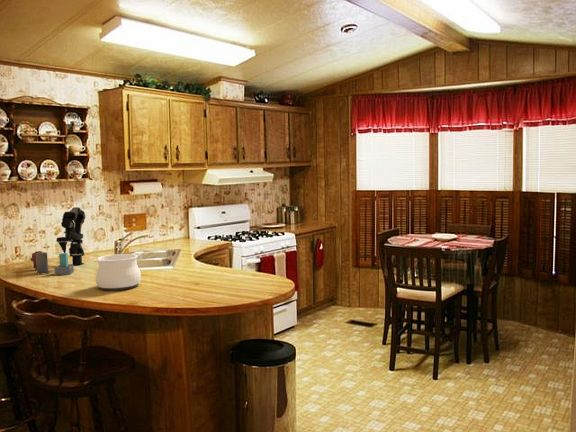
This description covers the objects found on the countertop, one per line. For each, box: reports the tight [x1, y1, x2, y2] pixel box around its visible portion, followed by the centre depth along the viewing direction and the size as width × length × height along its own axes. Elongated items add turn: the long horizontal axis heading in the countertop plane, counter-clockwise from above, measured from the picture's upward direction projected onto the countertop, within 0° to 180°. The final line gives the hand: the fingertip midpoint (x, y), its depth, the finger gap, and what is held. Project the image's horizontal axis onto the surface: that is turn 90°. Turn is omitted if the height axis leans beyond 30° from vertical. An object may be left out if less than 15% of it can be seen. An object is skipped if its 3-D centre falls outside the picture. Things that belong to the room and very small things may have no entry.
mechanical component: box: [30, 250, 43, 271], centre depth 353 cm, size 12×10×10 cm
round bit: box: [36, 251, 49, 275], centre depth 341 cm, size 7×7×13 cm
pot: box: [92, 252, 142, 292], centre depth 296 cm, size 28×24×17 cm
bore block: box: [54, 263, 75, 276], centre depth 338 cm, size 9×9×5 cm
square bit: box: [58, 252, 69, 267], centre depth 338 cm, size 4×4×13 cm
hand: (69, 253), depth 350 cm, fingers open, 9 cm apart
